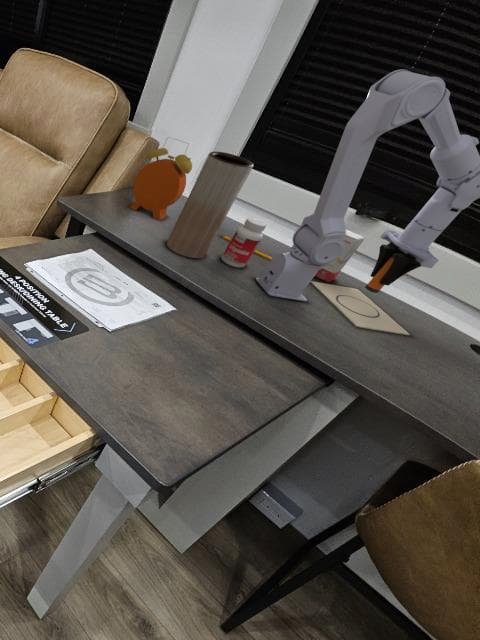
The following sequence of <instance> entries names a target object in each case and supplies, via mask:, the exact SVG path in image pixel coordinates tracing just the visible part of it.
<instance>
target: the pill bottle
mask: <svg viewBox="0 0 480 640" xmlns="http://www.w3.org/2000/svg"><path fill="white" fill-rule="evenodd" d="M243 224H244V225H242V226H239V227H238V228H237V229H236V230H235V233H234V234H233V236H232V237H231V241H229V243H228V244H227V246H226V247H225V250H224V251H223V253H222V255H221V257H220V258H221V261H222V262H224V263H225V264H227V265H228V266H231V267H234V268H240V269H241V268H244V267H246V265H247V263H248V262H249V260H250V259H251V258H252V256H253V254H255V253H254V251H255V250H256V249H257V248H258V246H259V245H260V243H261V242H262V240H263V237H264V234H263V233H262V232H264V231H265V229H266V227H267V223H266V222H265V221H263V220H261V219H259V218H255V217H247V218H246V220H245V221H244V223H243Z"/></svg>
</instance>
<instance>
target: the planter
mask: <svg viewBox="0 0 480 640" xmlns="http://www.w3.org/2000/svg"><path fill="white" fill-rule="evenodd" d="M253 168H254V163H253V162H252V161H250V160H248V159H247V158H244V157H241V156H239V155H236V154H233V153H228V152H223V151H217V150H216V151H210V152H209V153H208V155H207V157H206V159H205V161H204V163H203V166H202V167H201V170H200V172H199V174H198V176H197V177H196V179H195V182H194V185H193V186H192V189H191V191H190V193H189V195H188V196H187V199H186V201H185V203H184V206H183V208H182V209H181V212H180V213H179V216H178V218H177V220H176V222H175V224H174V226H173V228H172V231H171V232H170V235H169V237H168V239H167V242H166V246H167V248H168V249H169V250H171V251H172V252H173V253H175V254H177V255H179V256H182V257H185V258H188V259H189V258H190V259H201V258H204V257H205V255H206V254H207V252H208V250H209V249H210V246H211V244H212V243H213V241H214V239H215V237H216V236H217V233H218V232H219V230H220V228H221V226H222V225H223V223H224V221H225V219H226V218H227V216H228V213H229V212H230V210H231V208H232V206H233V204H234V202H235V201H236V199H237V197H238V195H239V193H240V192H241V190H242V188H243V186H244V184H245V182H246V181H247V178H249V175H250V174H251V172H252V170H253Z"/></svg>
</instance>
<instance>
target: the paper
mask: <svg viewBox="0 0 480 640" xmlns="http://www.w3.org/2000/svg"><path fill="white" fill-rule="evenodd" d="M310 284H312V286H314V288H316V289H317V290H318V291H319V292H320V294H321V295H323V296H324V297H325V298H326V299H327V300H328V302H330V303H331V304H332V305H333V306H334V307H335V308H336V309H337V310H338V311H339V312H340V313H341V314H342V315H343V316H344V317H345V318H346V319H347V320H348V321H349V322H350V323H351V324H352V325H353V326H354V327H355V328H361V329H366V330H373V331H379V332H384V333H391V334H395V335H396V334H397V335H402V336H403V335H404V336H411V334H410V333H409V332H408V331H407V330H406V329H404V328H403V327H402V326H401V325H400V324H399V323H397V321H395V320H394V319H393V318H392V317H390V315H389V314H387V313H386V312H385V311H383V309H382V308H380V307H379V306H378V305H377V304H376V303H375V302H374V301H372V300H371V299H370V298H369V297H368V296H367V295H366V294H365V293H363V292H362V291H361V290H360V289H359V288H354V287H348V286H344V285H342V286H341V285H337V284H330V283H324V282H318V281H314V280H313V281H312V280H311V281H310Z"/></svg>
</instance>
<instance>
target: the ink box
mask: <svg viewBox="0 0 480 640" xmlns="http://www.w3.org/2000/svg"><path fill="white" fill-rule="evenodd" d="M365 239H366V237H364V236H362V235H360V234H358V233H355V232H353V231H350V230H348V229H346V234H345V236H344V250H343V252H342V253H341V255H340V256H339V257H338V258H337V259H335V260H334V261H332V262H330V263H328V264H326V265H325V266H322V267H321V268H320V269H319V271H318V272H317V273H316V275H315V276H314V277H315V278H317V279H319V280H322V281H324V282H326V283H329V282H331V281H333V280H335V279H336V278H337V276H338V275H339V273H340V272H342V270H343V269H344V267H345V266H346V265H347V263H348V261H349V260H350V259H351V258H352V257H353V255H354V254H355V253H356V251H358V249H359V248H360V246H361V245H362V243H364V241H365Z"/></svg>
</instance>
